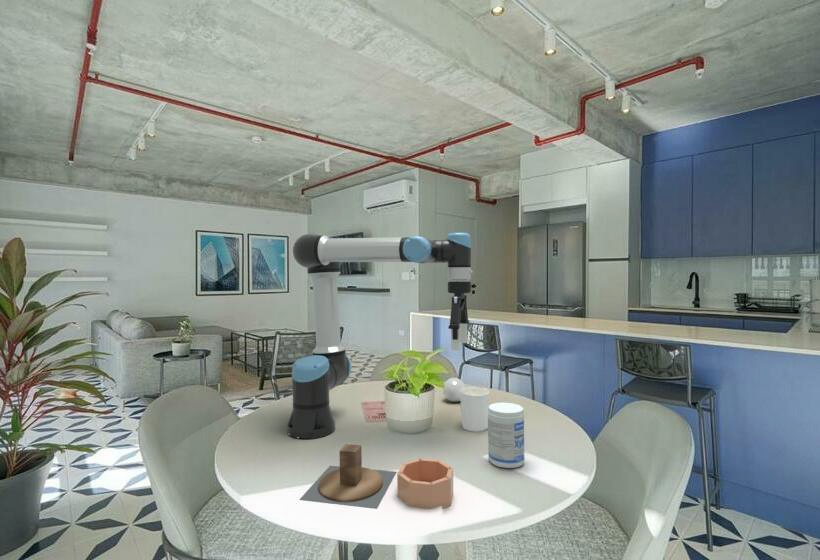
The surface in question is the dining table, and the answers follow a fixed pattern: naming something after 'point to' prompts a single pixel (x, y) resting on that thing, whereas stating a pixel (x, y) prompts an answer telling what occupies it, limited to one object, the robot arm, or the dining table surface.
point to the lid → (350, 478)
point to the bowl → (425, 483)
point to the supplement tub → (506, 435)
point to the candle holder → (474, 408)
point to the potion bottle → (453, 389)
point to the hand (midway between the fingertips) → (459, 346)
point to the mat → (369, 502)
